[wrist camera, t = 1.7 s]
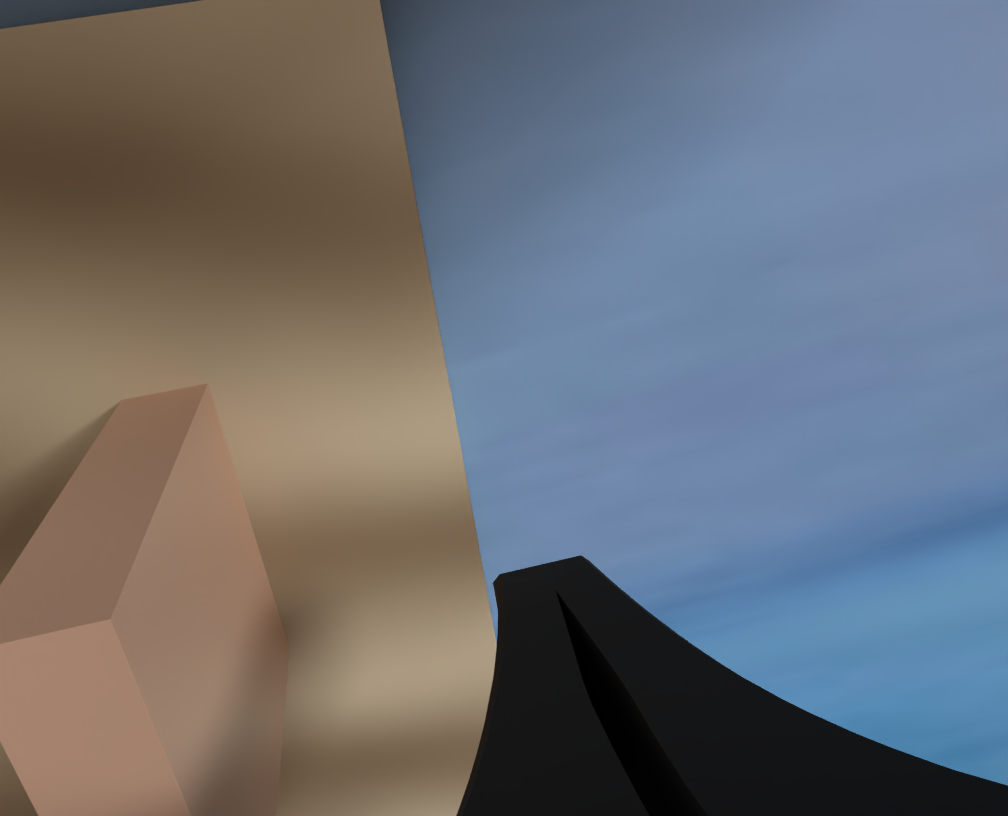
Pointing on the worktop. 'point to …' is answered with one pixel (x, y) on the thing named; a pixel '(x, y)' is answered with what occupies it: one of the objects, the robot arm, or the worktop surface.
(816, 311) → the worktop surface
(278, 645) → the tile
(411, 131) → the worktop surface
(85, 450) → the wooden board
